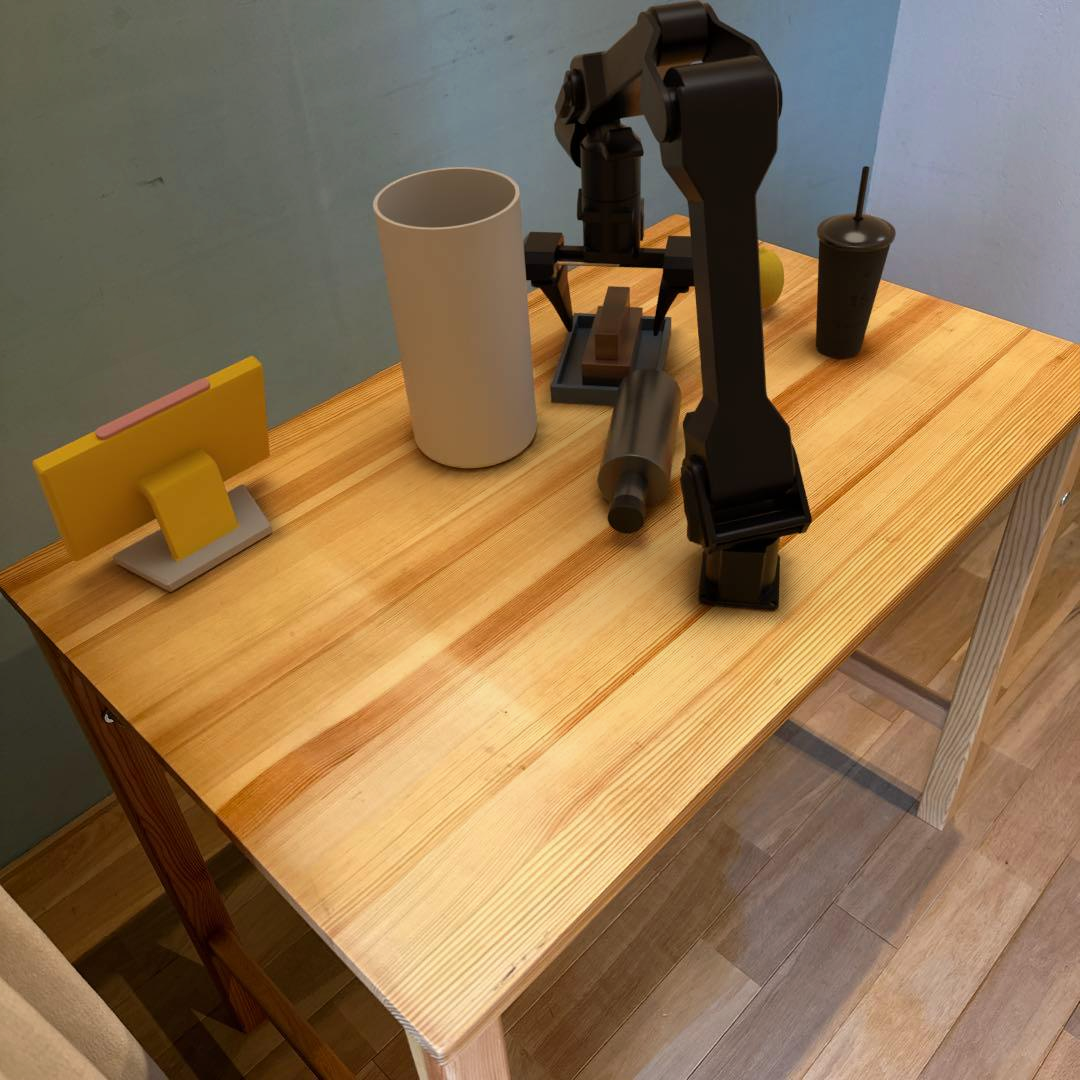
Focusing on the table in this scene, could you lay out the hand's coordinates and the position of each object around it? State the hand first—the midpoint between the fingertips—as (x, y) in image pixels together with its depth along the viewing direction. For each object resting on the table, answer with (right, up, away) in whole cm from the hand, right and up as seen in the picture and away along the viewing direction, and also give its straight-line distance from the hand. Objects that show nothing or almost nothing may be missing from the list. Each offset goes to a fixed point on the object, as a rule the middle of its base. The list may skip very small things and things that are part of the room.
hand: (612, 332), depth 107 cm
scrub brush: (0, -3, +2) cm, 4 cm away
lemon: (+17, +4, +10) cm, 20 cm away
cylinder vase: (-14, -12, -5) cm, 19 cm away
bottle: (+2, -17, -12) cm, 21 cm away
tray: (0, -3, +3) cm, 4 cm away
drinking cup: (+25, -1, +3) cm, 25 cm away
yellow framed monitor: (-39, -23, -15) cm, 47 cm away
